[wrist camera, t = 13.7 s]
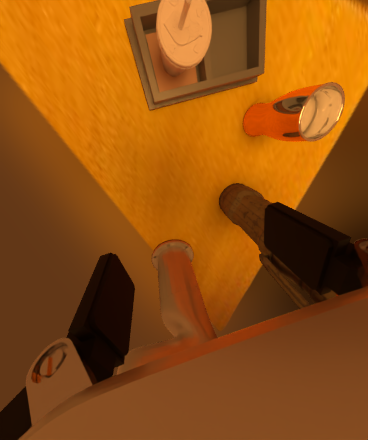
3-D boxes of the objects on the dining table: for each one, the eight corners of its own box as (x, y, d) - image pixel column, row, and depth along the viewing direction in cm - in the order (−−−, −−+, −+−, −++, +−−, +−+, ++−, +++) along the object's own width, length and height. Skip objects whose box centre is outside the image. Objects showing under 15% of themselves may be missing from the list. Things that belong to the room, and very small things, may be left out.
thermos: (256, 202, 44) (479, 351, 14) (218, 220, 45) (358, 399, 15) (251, 174, 40) (565, 305, 10) (209, 194, 40) (386, 377, 10)
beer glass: (234, 121, 33) (289, 115, 20) (260, 91, 31) (338, 63, 18) (251, 145, 36) (308, 153, 23) (276, 119, 34) (351, 113, 22)
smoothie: (153, 29, 23) (157, -78, 12) (194, 37, 25) (236, -52, 13) (154, 84, 27) (159, 44, 15) (190, 89, 28) (222, 56, 16)
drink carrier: (254, 82, 30) (269, 75, 26) (149, 110, 29) (149, 107, 25) (254, -8, 24) (274, -33, 21) (124, 23, 23) (120, 2, 20)
